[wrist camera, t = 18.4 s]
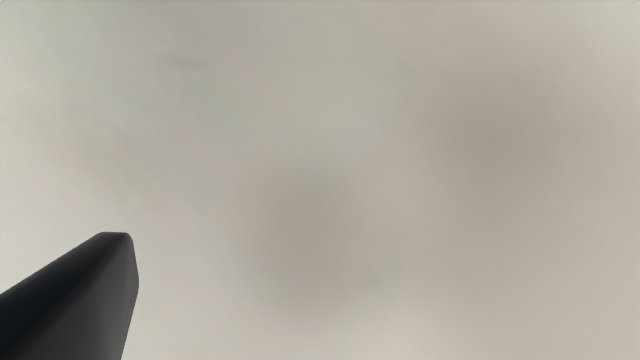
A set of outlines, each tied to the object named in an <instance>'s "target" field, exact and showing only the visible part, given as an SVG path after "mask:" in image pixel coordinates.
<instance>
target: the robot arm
mask: <svg viewBox="0 0 640 360" xmlns="http://www.w3.org/2000/svg"><path fill="white" fill-rule="evenodd" d="M138 288H139V276H138V270H137V264H136V258H135V252H134V245H133V240H132V238H131V236H130V235H129V234H128V233H122V232H101V233H98V234H96V235H95V236H93V237H92V238H90V239H88V240H87V241H85V242H84V243H82V244H80V245H79V246H77V247H75V248H74V249H72V250H71V251H69V252H67V253H66V254H64V255H63V256H61V257H59V258H58V259H56V260H55V261H53V262H51V263H50V264H48V265H47V266H45V267H43V268H42V269H40V270H38V271H37V272H35V273H34V274H32V275H30V276H29V277H27V278H26V279H24V280H22V281H21V282H19V283H18V284H16V285H14V286H13V287H11V288H10V289H8V290H6V291H5V292H3V293H1V294H0V360H121V357H122V353H123V349H124V345H125V341H126V337H127V334H128V330H129V326H130V322H131V318H132V314H133V310H134V306H135V302H136V298H137V294H138Z"/></svg>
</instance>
